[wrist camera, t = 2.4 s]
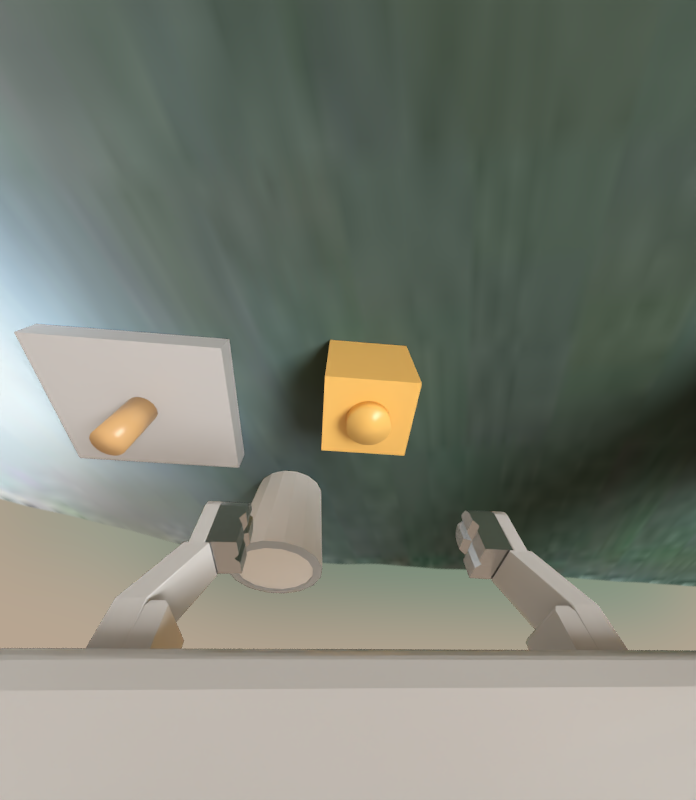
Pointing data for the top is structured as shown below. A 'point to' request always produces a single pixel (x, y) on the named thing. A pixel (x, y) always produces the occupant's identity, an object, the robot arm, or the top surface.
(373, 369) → the cube with dome knob
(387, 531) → the top surface
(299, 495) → the white cylinder
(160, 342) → the flat gray block
